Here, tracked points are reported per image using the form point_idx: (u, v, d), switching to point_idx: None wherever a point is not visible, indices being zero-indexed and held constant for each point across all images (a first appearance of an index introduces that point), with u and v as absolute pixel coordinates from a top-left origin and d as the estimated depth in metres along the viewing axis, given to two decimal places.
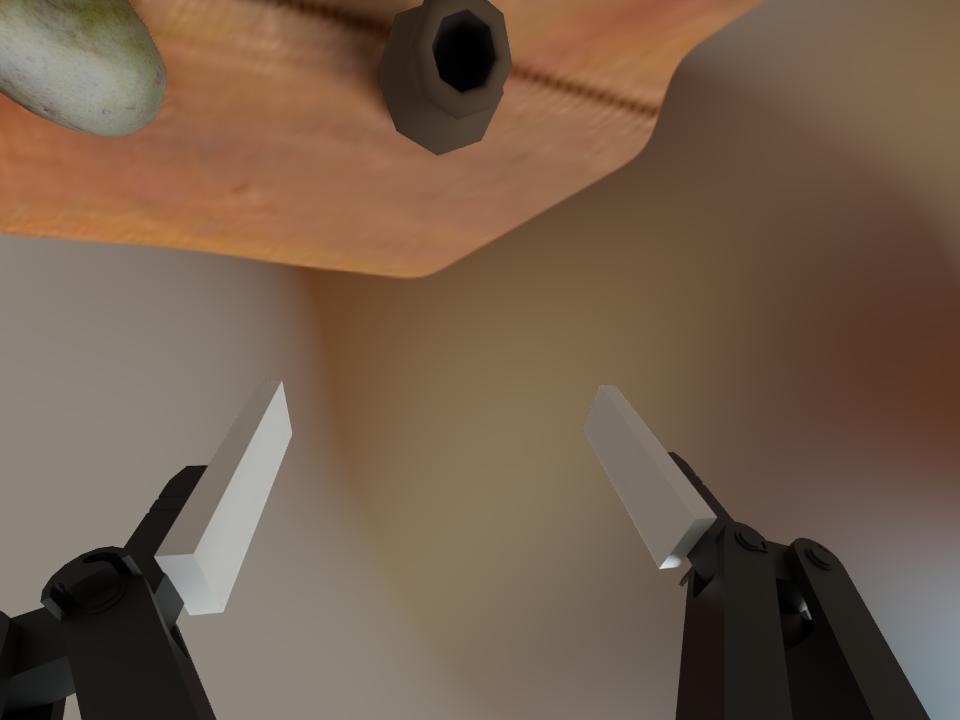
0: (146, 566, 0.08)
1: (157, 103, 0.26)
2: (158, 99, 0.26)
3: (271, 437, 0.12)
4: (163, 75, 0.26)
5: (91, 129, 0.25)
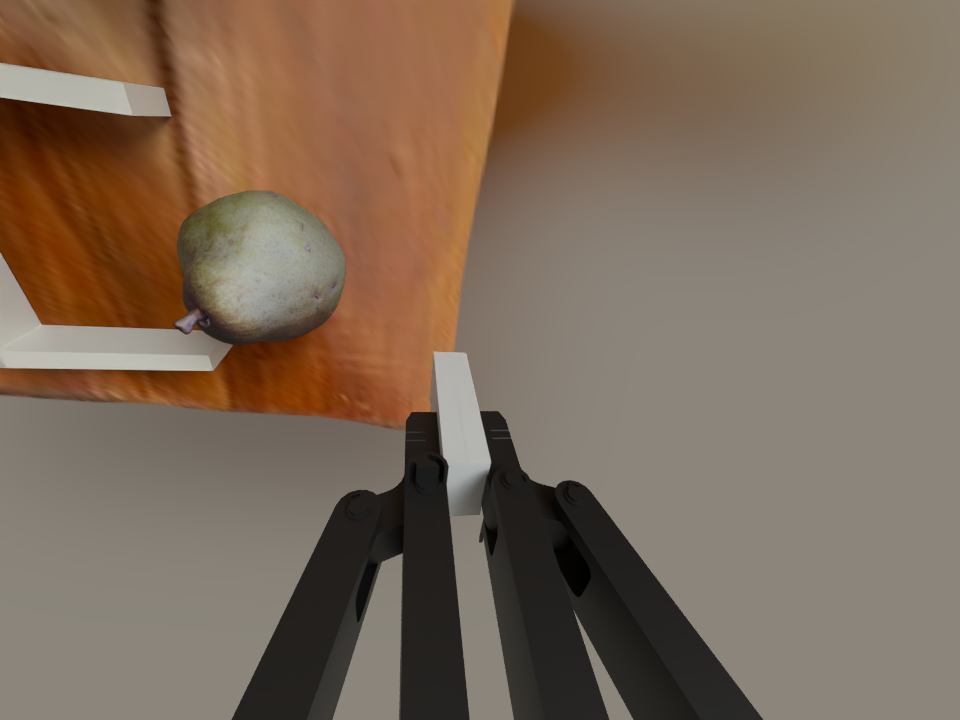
0: None
1: (300, 207, 0.24)
2: (296, 205, 0.24)
3: None
4: (271, 191, 0.23)
5: (333, 272, 0.25)
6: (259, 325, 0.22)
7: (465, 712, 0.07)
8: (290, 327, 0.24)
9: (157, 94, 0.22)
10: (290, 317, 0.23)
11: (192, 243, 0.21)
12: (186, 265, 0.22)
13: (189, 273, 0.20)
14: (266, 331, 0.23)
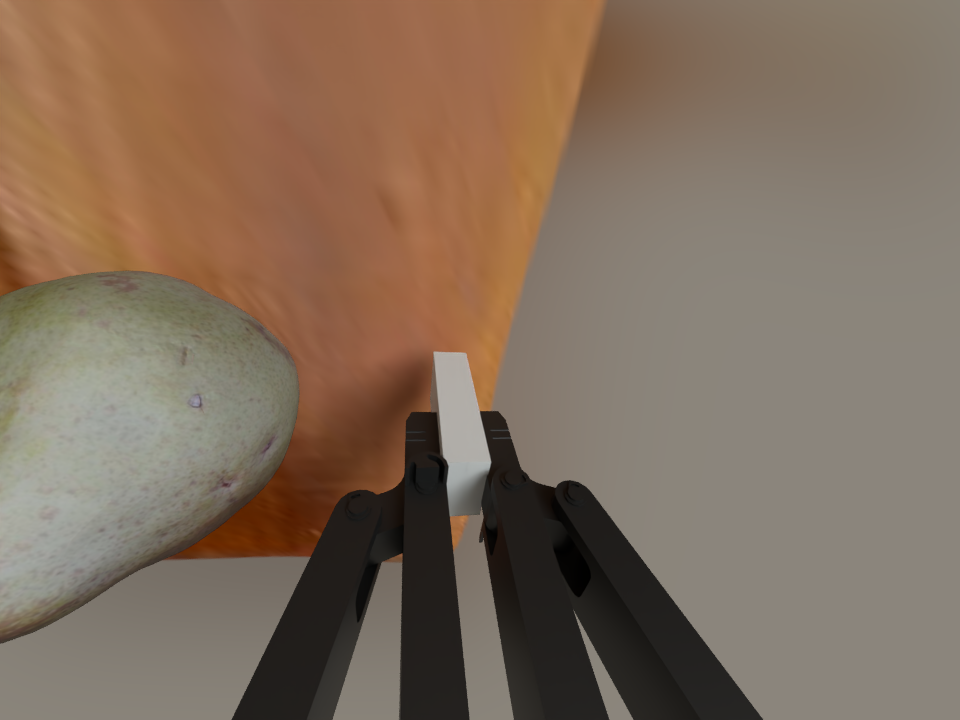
0: None
1: (192, 304, 0.12)
2: (182, 299, 0.12)
3: None
4: (125, 274, 0.11)
5: (263, 427, 0.12)
6: (69, 599, 0.09)
7: (465, 712, 0.07)
8: (171, 550, 0.12)
9: None
10: (163, 542, 0.11)
11: None
12: None
13: None
14: (99, 591, 0.10)
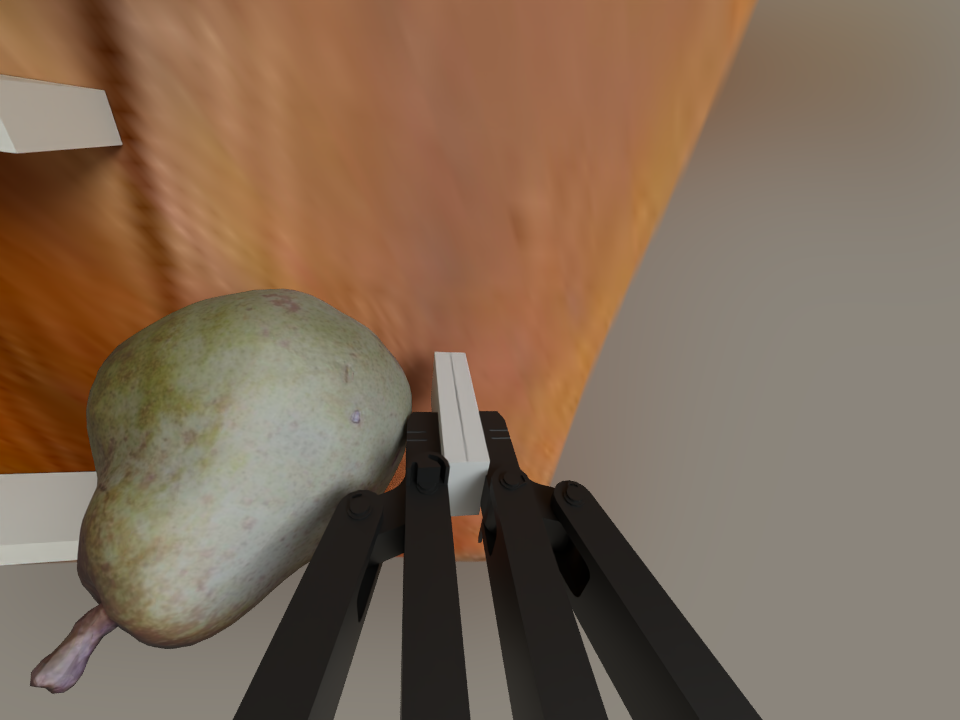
0: None
1: (341, 322, 0.12)
2: (333, 318, 0.12)
3: None
4: (284, 294, 0.12)
5: (397, 440, 0.13)
6: (250, 603, 0.10)
7: (466, 712, 0.07)
8: None
9: (88, 103, 0.11)
10: None
11: (109, 429, 0.10)
12: (97, 470, 0.10)
13: (88, 521, 0.09)
14: (265, 596, 0.11)
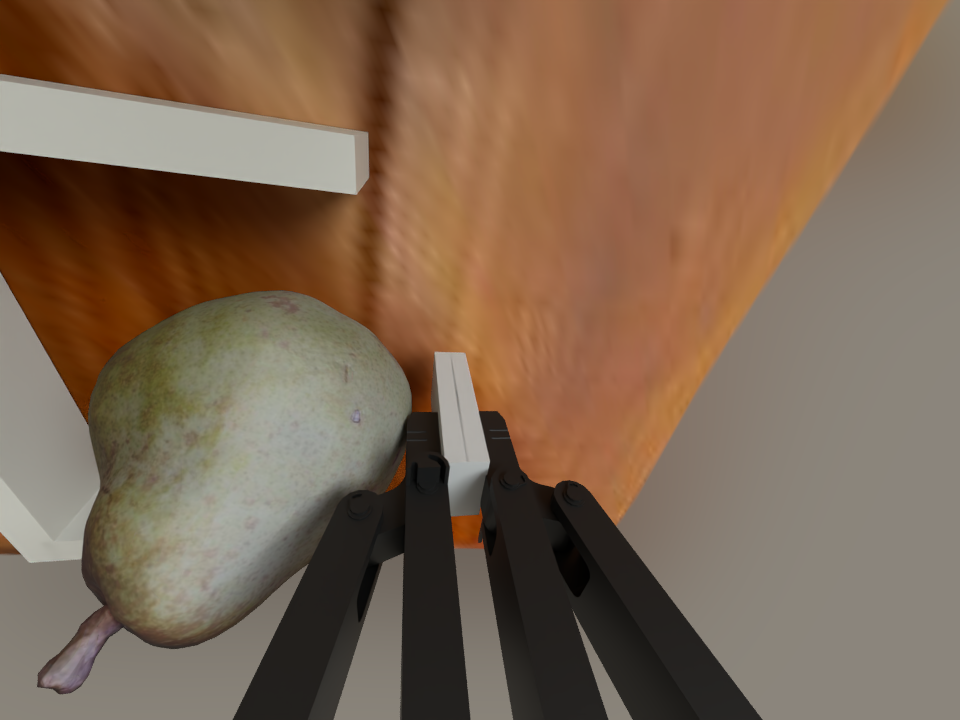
0: None
1: (340, 323, 0.12)
2: (331, 318, 0.12)
3: None
4: (283, 295, 0.12)
5: (397, 439, 0.13)
6: (254, 603, 0.10)
7: (466, 712, 0.07)
8: None
9: (366, 145, 0.13)
10: None
11: (110, 432, 0.10)
12: (100, 473, 0.10)
13: (91, 523, 0.09)
14: None
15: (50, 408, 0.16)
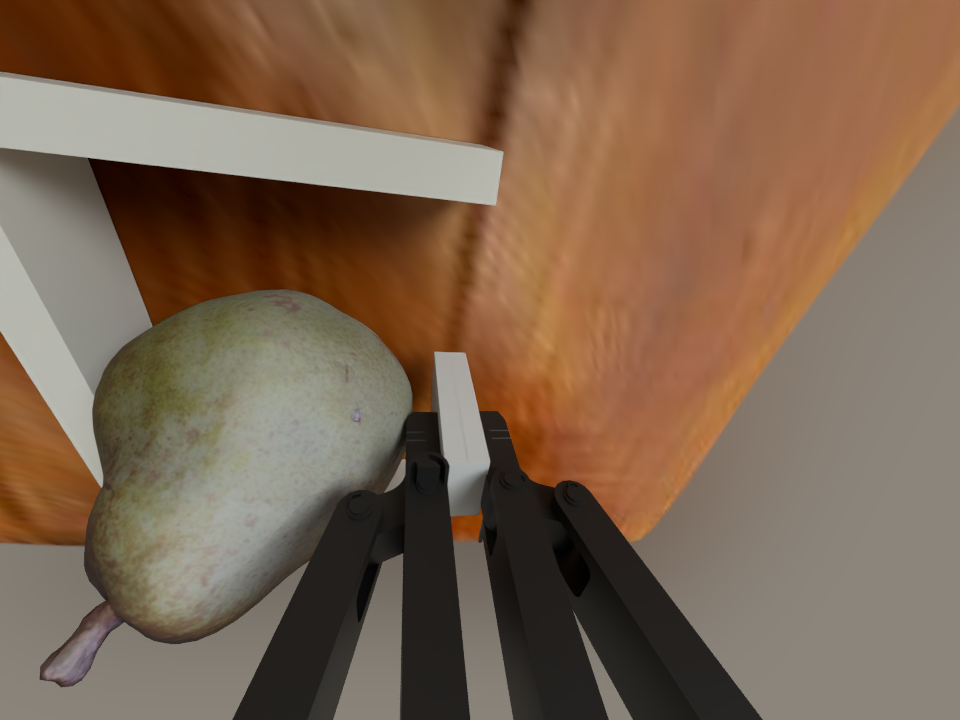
0: None
1: (341, 322, 0.12)
2: (333, 318, 0.12)
3: None
4: (285, 294, 0.12)
5: (397, 439, 0.13)
6: (253, 600, 0.10)
7: (466, 712, 0.07)
8: None
9: None
10: None
11: (113, 429, 0.10)
12: (103, 469, 0.10)
13: (94, 519, 0.09)
14: None
15: None
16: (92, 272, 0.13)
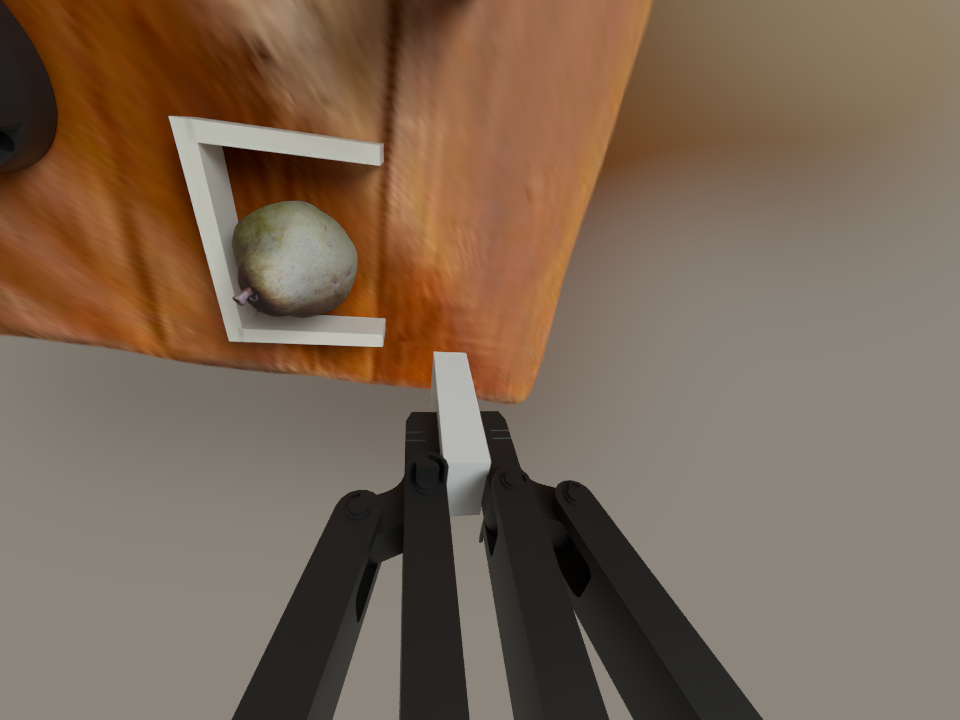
0: None
1: (324, 213, 0.31)
2: (320, 211, 0.31)
3: None
4: (302, 201, 0.31)
5: (348, 263, 0.32)
6: (293, 301, 0.29)
7: (465, 712, 0.07)
8: (315, 305, 0.31)
9: (382, 148, 0.32)
10: (315, 297, 0.30)
11: (245, 240, 0.29)
12: (239, 256, 0.29)
13: (243, 261, 0.28)
14: (297, 306, 0.30)
15: None
16: (222, 195, 0.32)
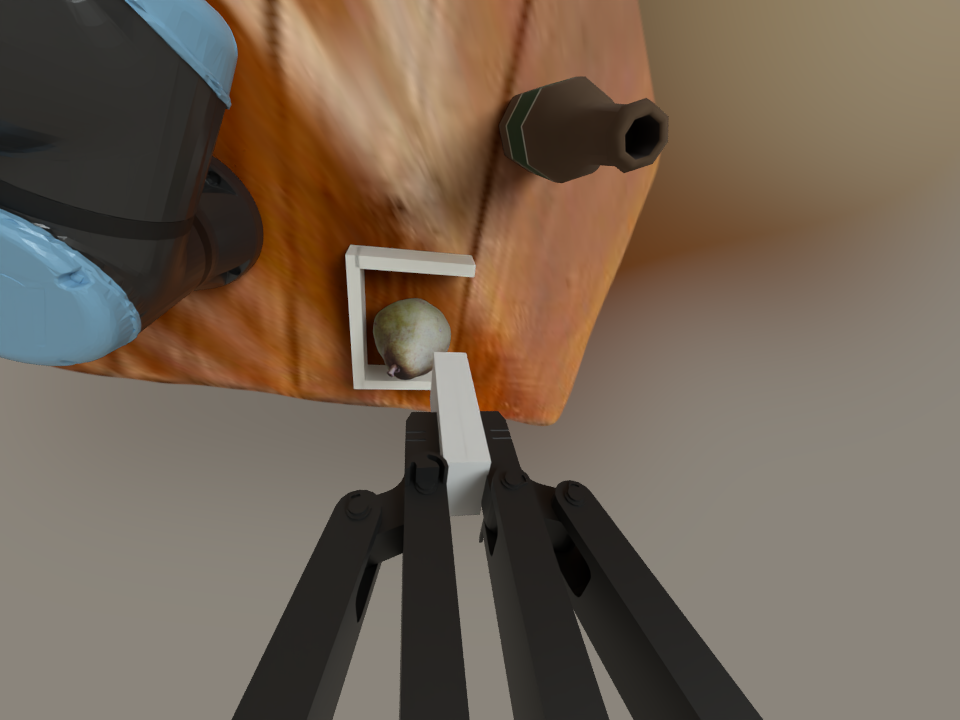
0: None
1: (433, 307, 0.46)
2: (431, 306, 0.46)
3: None
4: (419, 299, 0.45)
5: (448, 340, 0.46)
6: (419, 371, 0.43)
7: (465, 712, 0.07)
8: (428, 370, 0.46)
9: None
10: (429, 365, 0.45)
11: (388, 330, 0.43)
12: (383, 341, 0.43)
13: (391, 347, 0.42)
14: (420, 373, 0.44)
15: (365, 337, 0.50)
16: (363, 293, 0.46)
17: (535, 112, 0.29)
